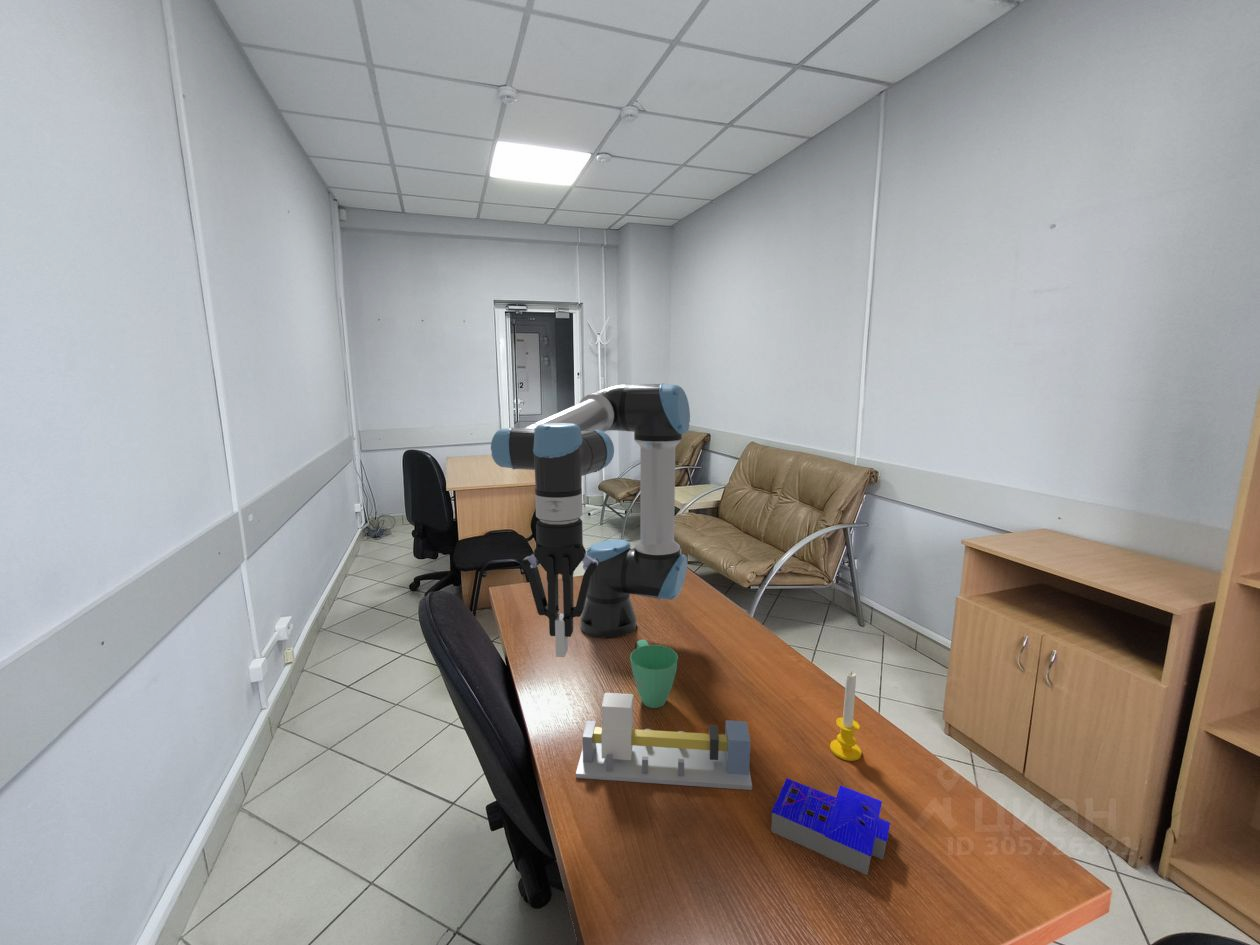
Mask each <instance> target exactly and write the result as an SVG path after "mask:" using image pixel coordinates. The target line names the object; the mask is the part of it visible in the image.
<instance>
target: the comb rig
mask: <svg viewBox="0 0 1260 945" xmlns="http://www.w3.org/2000/svg"><path fill="white" fill-rule="evenodd" d="M724 728H725V729H724V730H725V732H724V734H719V729H718V725H717V724H716V725H715V724H708V733H703V732H702V733H701V732H687V731H686V732H685V731H684V730H678V731H672V730H671V731H667V730H653V729H651V728H645V729H638V728H637V729H636V728H633V729H632V734H631V745H633V747H632V755H631V760H621V759H613V754H607V756H606V758H602V741H601V731H602V726H601V727H600V726H597V721H596V720H586V723H585V727H584V731H583V734H582V748H581V753H580V757H579V760H578V764H577V767H576V772H575V779H586V780H587V779H588V780H589V779H590V780H601V781H602V780H604V781H615V782H616V781H617V782H618V781H619V782H630V783H631V782H633V783H645V784H646V783H647V784H661V785H673V786H675V785H676V786H690V787H703V788H714V789H715V788H718V789H733V790H744V791H746V790H748V791H752V790H753V781H752V777H751V771H750V761H751V757H750V756H751V737H750V731H749V727H748V722H747V720H745V721H744V720H730V719H729V720H728V719H726V720H725V727H724Z"/></svg>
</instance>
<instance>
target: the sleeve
mask: <svg viewBox="0 0 1260 945" xmlns="http://www.w3.org/2000/svg"><path fill="white" fill-rule="evenodd" d="M601 727H602V731H601V741H602V758H606V756H607V754H613V759H621V760H631V755H632V747H633V745H631V734H632V729H634V694H633V693H620V692H619V693H617V692H604V694H603V698H602V704H601Z"/></svg>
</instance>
